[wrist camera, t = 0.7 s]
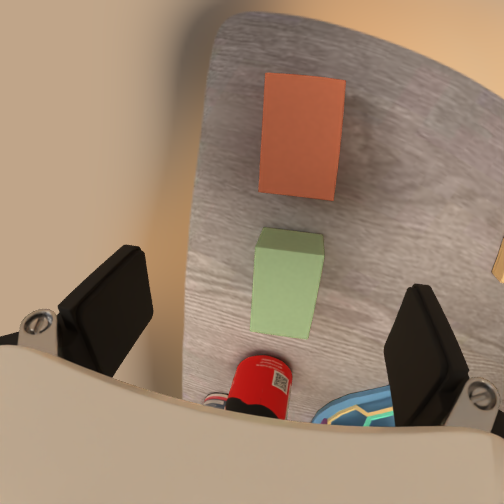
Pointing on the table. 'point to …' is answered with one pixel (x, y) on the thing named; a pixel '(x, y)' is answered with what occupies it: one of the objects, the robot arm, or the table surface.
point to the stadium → (359, 409)
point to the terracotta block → (301, 135)
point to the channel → (499, 264)
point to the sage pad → (286, 282)
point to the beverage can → (261, 388)
